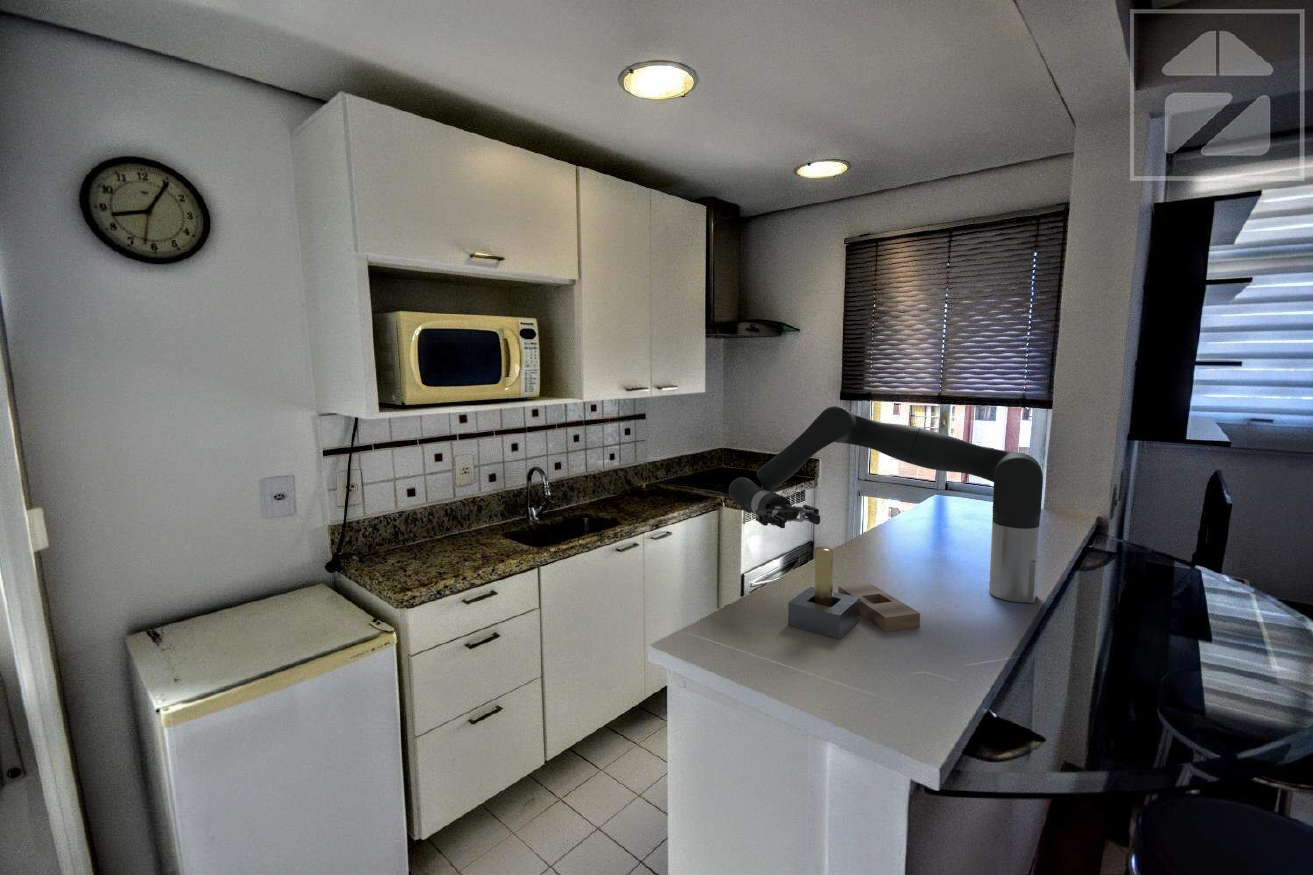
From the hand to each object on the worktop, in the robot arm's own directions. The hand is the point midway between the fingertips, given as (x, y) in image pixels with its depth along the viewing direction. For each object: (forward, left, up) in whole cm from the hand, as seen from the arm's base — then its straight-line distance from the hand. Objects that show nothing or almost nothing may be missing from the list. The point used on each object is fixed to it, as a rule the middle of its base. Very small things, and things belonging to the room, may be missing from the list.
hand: (801, 522), depth 130 cm
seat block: (-8, +7, -19) cm, 22 cm away
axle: (-8, +7, -19) cm, 22 cm away
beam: (-15, -5, -19) cm, 25 cm away
